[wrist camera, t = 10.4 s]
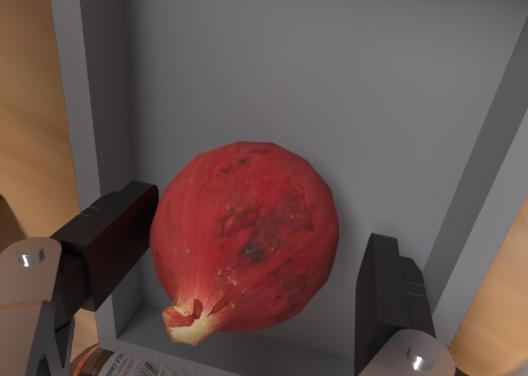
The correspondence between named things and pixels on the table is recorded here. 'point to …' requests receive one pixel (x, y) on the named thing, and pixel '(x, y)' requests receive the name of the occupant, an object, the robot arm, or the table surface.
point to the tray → (307, 143)
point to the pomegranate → (242, 240)
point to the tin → (116, 365)
